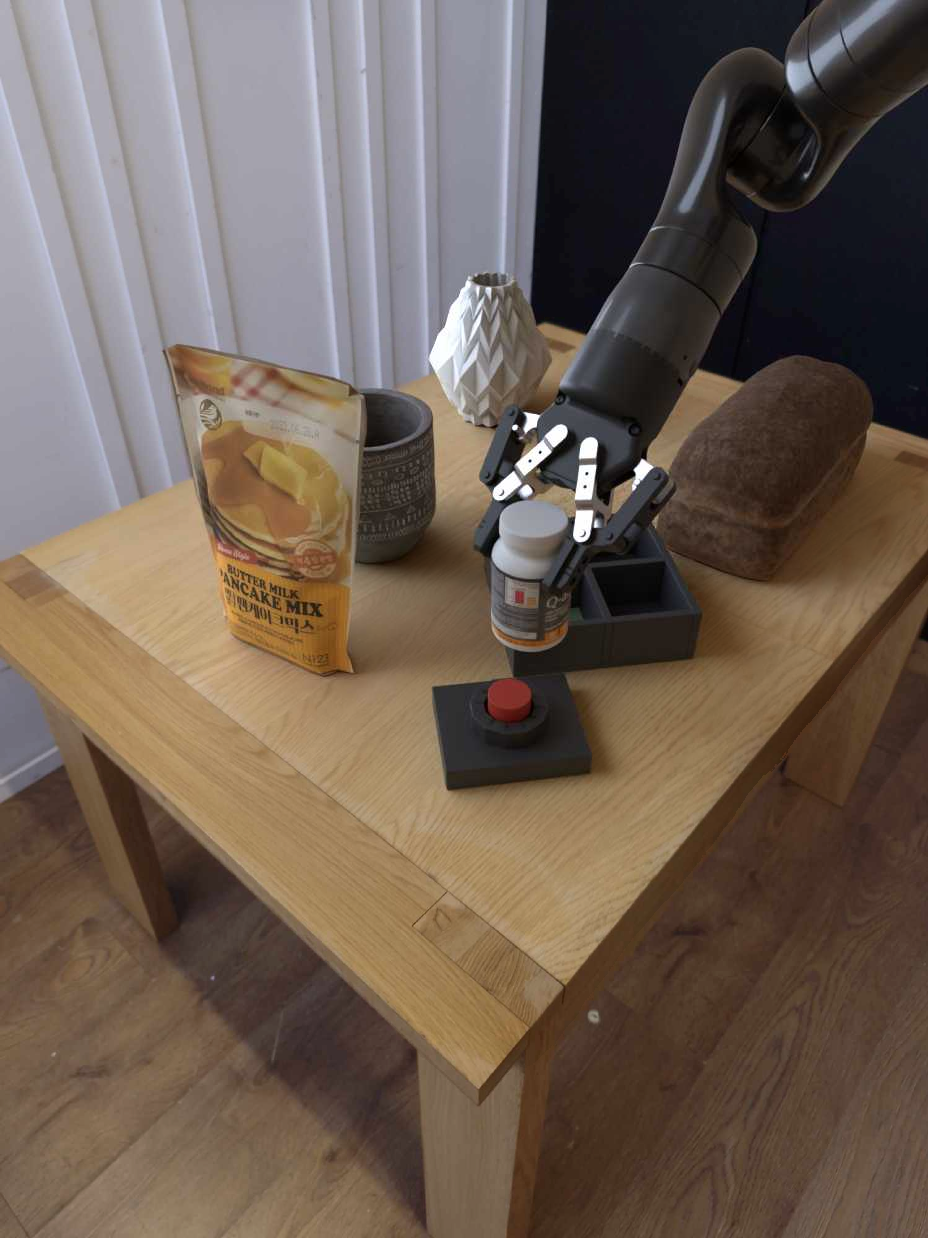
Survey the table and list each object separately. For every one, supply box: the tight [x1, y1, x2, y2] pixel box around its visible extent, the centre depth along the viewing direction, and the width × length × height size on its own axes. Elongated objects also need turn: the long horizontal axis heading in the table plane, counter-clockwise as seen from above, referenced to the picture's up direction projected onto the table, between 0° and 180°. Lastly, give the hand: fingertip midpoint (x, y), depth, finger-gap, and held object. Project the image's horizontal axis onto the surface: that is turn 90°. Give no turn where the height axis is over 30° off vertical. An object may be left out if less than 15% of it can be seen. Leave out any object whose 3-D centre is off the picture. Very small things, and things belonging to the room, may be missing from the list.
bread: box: [655, 354, 875, 581], centre depth 99 cm, size 15×32×16 cm, turn 143°
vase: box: [428, 270, 553, 428], centre depth 117 cm, size 16×16×18 cm
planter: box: [354, 387, 437, 564], centre depth 95 cm, size 14×14×15 cm
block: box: [431, 672, 593, 791], centre depth 75 cm, size 12×10×4 cm
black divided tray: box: [483, 512, 703, 678], centre depth 88 cm, size 17×17×6 cm
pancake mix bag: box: [161, 343, 367, 677], centre depth 78 cm, size 7×19×28 cm, turn 58°
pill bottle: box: [490, 499, 571, 652], centre depth 62 cm, size 6×6×10 cm
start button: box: [488, 679, 531, 723], centre depth 73 cm, size 4×4×2 cm
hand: (516, 572), depth 61 cm, fingers closed on pill bottle, 5 cm apart
